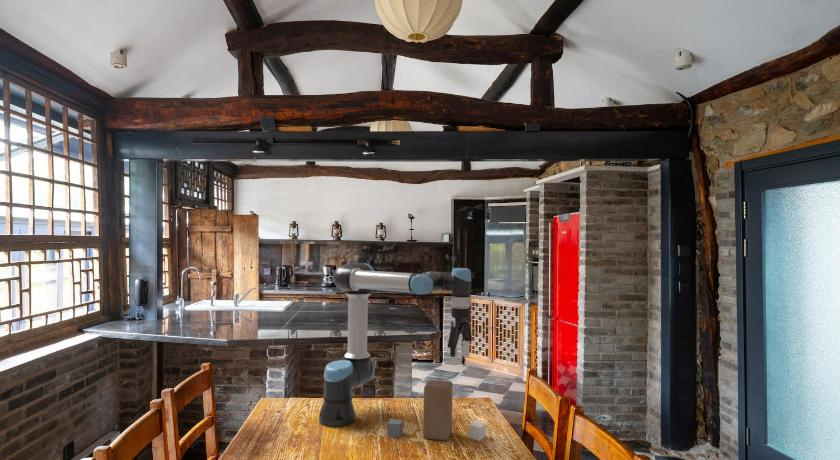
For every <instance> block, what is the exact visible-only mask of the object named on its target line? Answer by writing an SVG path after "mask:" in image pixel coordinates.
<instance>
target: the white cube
mask: <svg viewBox="0 0 840 460" xmlns="http://www.w3.org/2000/svg"><path fill="white" fill-rule="evenodd" d="M467 431H468V432H467V438H469V439H473V440H476V441H478V442H479V441H482V440H483V439H484V438H486V437H487V424H486V423H484V422H481V421H478V420H473V421H472V422H471V423H469V424H468V425H467Z"/></svg>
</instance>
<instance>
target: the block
mask: <svg viewBox="0 0 840 460" xmlns="http://www.w3.org/2000/svg"><path fill="white" fill-rule="evenodd" d="M453 385H454V384H453V382H452V381H450V380H447V381H446V380H436V379H429V380H427V382H426V384H425V385H424V387H423V411H422V412H423V414H422V415H423V416H422V417H423V418H422V422H423V423H422V430H423V431H422V437H423V439H426V440H427V439H428V440H436V441H437V440H438V441H449V438H450V436H451V433H452V429H453Z"/></svg>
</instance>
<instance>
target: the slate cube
mask: <svg viewBox="0 0 840 460" xmlns="http://www.w3.org/2000/svg"><path fill="white" fill-rule="evenodd" d="M386 426H387V428H386V431H387V432H386V437H391V438H393V437H394V438H401V437H402V434H403V433H404V432H403V431H404V419H399V418H397V419H396V418H390V419H389V420H388V422H387V425H386Z"/></svg>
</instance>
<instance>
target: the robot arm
mask: <svg viewBox="0 0 840 460" xmlns="http://www.w3.org/2000/svg"><path fill="white" fill-rule="evenodd" d="M471 272H472V271H471V270H470V268H466V267H463V268H462V267H461V268H460V267H454V268H452V271H451V272H443V271H427V272H425V273H418V272H416V273H413V272H396V271H379V270H378V271H377V270H375V268H373V266H372V265H370V264H368V263H365V262H356V263H355V262H354V263H345V264H342V265H340V266H338V267H337V268H336V269H335V270H334V273H333V278H332V279H333V283H334V285H335V287H336V288H337V289H339V290H340V291H343V292H344V293H345V295H346V296H347V297H348V299H347V300H348V302H347V303H348V304H347V306H348V309H347V311H348V312H347V313H348V314H347V316H348V317H347V351H346V352H345V353H344V355H343V359H340V360H333V361H331V362H328V363H327V364H326V366H325V367H324V372H323V379H324V380H323V402H322V406H321V409H320V412H319V414H318V422H319V424H321V425H323V426H326V427H344V426H348V425H351V424H353V423H355V421H356V419H357V412H356V411H355V406H354V402H353V390H354V389H356V388H358V387H361V386H364V385H365V384H367V383H368V382H370V381H371V380H372V379H373V377H374V375H375V372H376V371H375V370H376V366H375V362H373V360H372V358H371V354H370V353H369V352H368V318H369V317H368V315H369V314H368V313H369V310H368V309H369V304H368V303H369V297H370V296H371V294H372V290H373V291H386V292H400V293H414V294H416V295H426V294H430V293H435V292H438V291H439V292H451V302H450V303H451V304H450V305H451V306H452V307H451V310H450V311H451V312H450V316H451V317H452V318H454V319H455V320H454V321H453V320H452V321H451V322H450V325H451V326H450V332H449V335H448V341H447V348H449V365H452V366H457V365H458V347H457V346H458V343H459V340H460V335H461V336H462V338H463V341H462V355H461V356H462V358H470V344H471V343H470V342H472V341H473V337H472V330H471V324H470V323H471V322H470V318H471V308H470V307H471V302H472V301H473V300H472V299H471V296H472V295H471V292H472V291H471V289H472V273H471Z"/></svg>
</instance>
